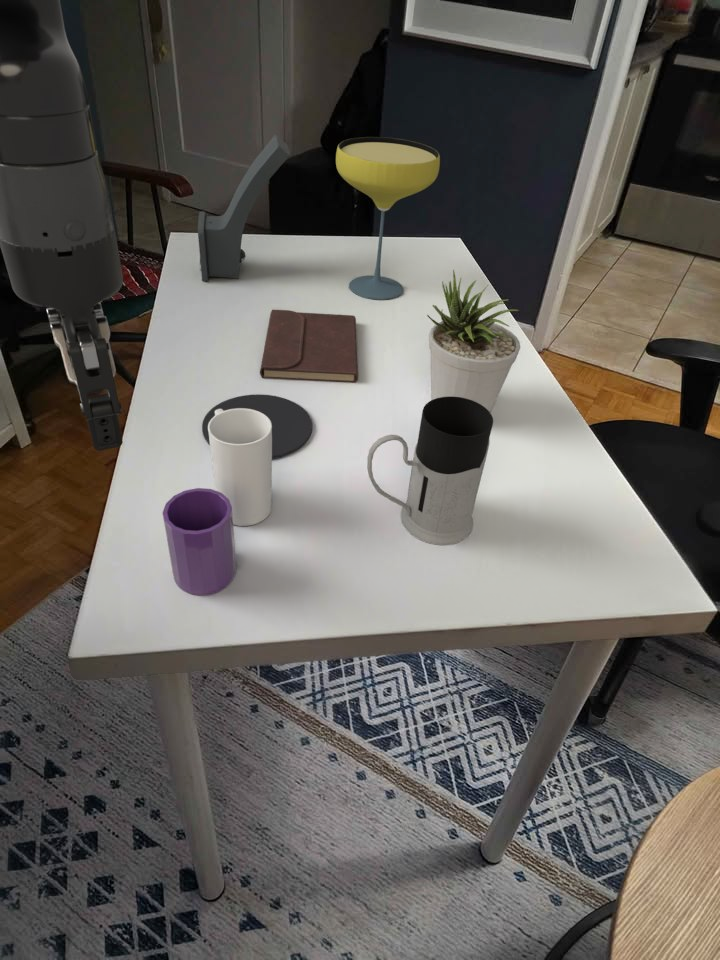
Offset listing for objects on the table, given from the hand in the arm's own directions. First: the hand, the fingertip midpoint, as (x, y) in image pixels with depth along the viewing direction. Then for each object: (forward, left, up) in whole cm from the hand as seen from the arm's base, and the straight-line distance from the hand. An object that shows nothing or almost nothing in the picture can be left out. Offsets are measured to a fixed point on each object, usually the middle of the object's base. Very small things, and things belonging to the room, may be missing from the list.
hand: (99, 417), depth 55 cm
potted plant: (+49, +19, -20) cm, 56 cm away
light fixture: (+30, +74, -20) cm, 83 cm away
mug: (+13, +8, -20) cm, 25 cm away
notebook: (+33, +41, -20) cm, 57 cm away
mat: (+19, +22, -20) cm, 36 cm away
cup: (+7, -2, -20) cm, 21 cm away
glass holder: (+32, -2, -20) cm, 38 cm away
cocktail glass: (+53, +61, -20) cm, 84 cm away
